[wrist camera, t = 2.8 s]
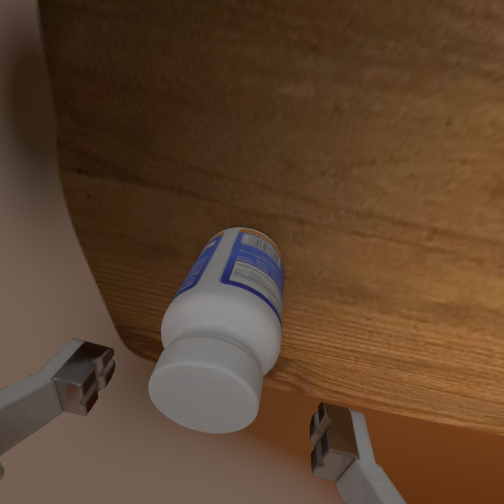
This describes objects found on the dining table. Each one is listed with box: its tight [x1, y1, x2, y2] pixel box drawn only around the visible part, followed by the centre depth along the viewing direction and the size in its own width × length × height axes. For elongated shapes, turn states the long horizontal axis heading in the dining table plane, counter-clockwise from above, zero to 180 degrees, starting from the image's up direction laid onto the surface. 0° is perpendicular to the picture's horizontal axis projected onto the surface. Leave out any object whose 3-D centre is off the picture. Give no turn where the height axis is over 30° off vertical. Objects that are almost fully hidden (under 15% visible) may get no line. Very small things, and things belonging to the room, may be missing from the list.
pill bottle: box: [148, 227, 283, 434], centre depth 13 cm, size 5×5×10 cm
